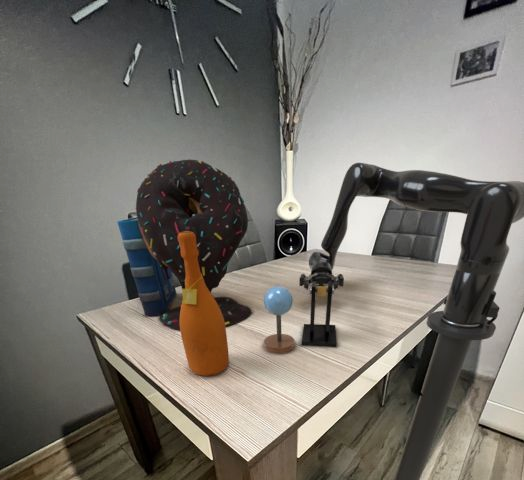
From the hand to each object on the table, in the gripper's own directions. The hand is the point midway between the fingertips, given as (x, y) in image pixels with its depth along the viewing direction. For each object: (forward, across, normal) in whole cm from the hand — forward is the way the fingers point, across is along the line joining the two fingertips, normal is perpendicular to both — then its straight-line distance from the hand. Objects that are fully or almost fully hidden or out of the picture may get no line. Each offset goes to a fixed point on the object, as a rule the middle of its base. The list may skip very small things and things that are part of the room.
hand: (321, 286), depth 85 cm
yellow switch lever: (+11, 0, -1) cm, 12 cm away
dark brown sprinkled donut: (+2, -39, +9) cm, 40 cm away
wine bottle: (+34, -26, +9) cm, 44 cm away
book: (-5, -59, +9) cm, 60 cm away
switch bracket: (+17, 0, +9) cm, 19 cm away
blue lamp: (+23, -10, +9) cm, 27 cm away
